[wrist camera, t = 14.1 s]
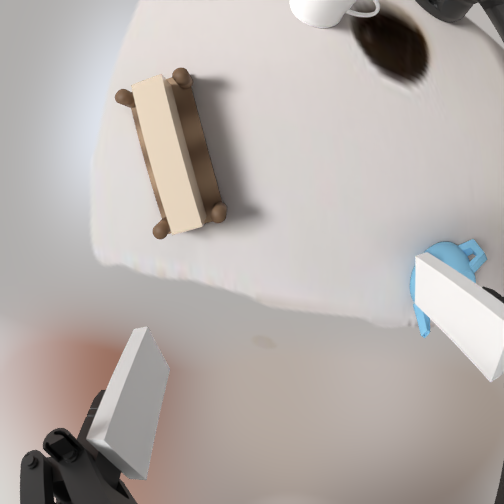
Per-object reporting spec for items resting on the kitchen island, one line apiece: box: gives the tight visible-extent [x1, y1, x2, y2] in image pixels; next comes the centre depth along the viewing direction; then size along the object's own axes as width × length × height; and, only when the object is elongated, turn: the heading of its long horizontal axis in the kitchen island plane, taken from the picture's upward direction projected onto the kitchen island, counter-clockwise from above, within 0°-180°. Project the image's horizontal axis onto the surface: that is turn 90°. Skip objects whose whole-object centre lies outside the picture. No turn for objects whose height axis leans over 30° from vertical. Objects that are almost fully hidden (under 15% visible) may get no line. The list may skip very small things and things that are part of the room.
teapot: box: [410, 239, 487, 338], centre depth 43 cm, size 15×15×11 cm
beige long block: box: [131, 74, 207, 235], centre depth 35 cm, size 20×4×6 cm, turn 14°
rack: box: [115, 68, 227, 239], centre depth 36 cm, size 22×10×6 cm, turn 14°
